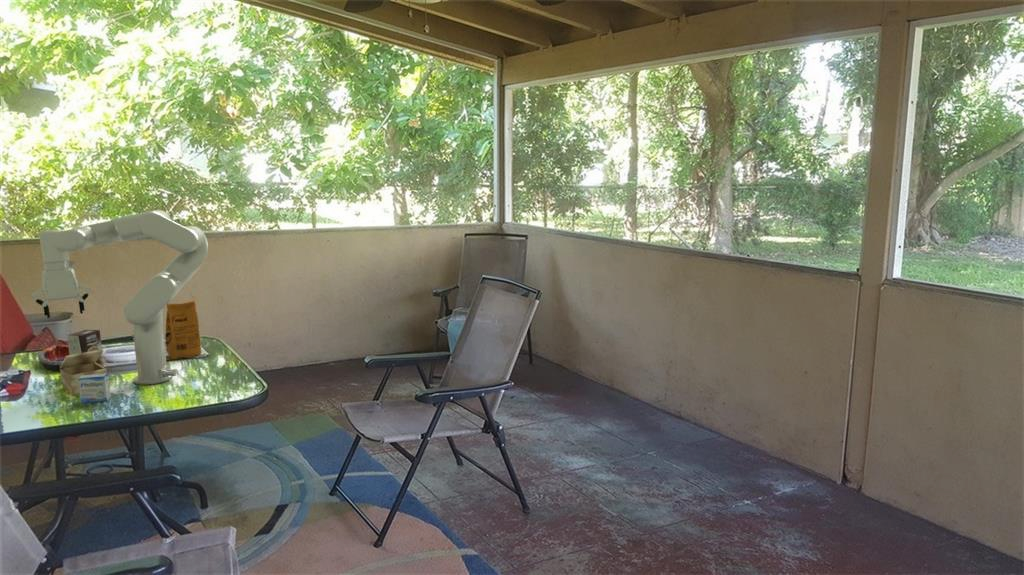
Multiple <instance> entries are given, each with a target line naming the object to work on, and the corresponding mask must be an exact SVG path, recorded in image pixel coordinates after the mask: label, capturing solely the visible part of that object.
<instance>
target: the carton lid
mask: <svg viewBox="0 0 1024 575" xmlns="http://www.w3.org/2000/svg"><path fill="white" fill-rule="evenodd" d="M103 352H104V349H103V348H102V349H101V350H96V351H90V352H85V353H79V354H73V355H68V356H66V358H65V359H64V361H63V362H62V364H61V366H60V369H61V368H67V367H72V366H77V365H82V364H88V363H93V362H96V360H97V359H98V358H99V356H100V355H101V353H102V354H103Z"/></svg>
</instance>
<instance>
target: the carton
mask: <svg viewBox="0 0 1024 575" xmlns="http://www.w3.org/2000/svg"><path fill="white" fill-rule="evenodd" d="M59 371H60V377H61V385H62V386H61V387H62V389H63V390H64V391H65V392H67V393H68V394H69V395H71V396H73V397H75V396H80V391H79V382H78V378H79V377H80V376H82V375H90V374H103V373H108V369H107V368H106V367H105V366H104V367H103V366H101V365H99V364H98V363H96V362H94V363H88V364H83V365H78V366H73V367H67V368H62V369H60V370H59Z"/></svg>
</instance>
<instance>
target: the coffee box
mask: <svg viewBox="0 0 1024 575" xmlns="http://www.w3.org/2000/svg"><path fill="white" fill-rule="evenodd" d="M66 338H67V345H68V347H69V355H73V354H79V353H85V352H90V351H96V350H101V349H103V348H102V339H101V338H102V337H101V330H100V329H83V330H81V331H77V332H76V331H75V332H74V333H70V334H67V335H66ZM93 363H94V362H93ZM96 363H98V364H99V365H101V366H103V367H104V368H105V366H104V357H103V352H102V353H101V355H100V356H99V358H98V359H97V360H96ZM82 365H83V364H82ZM77 366H78V365H77ZM72 367H73V366H72Z"/></svg>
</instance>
